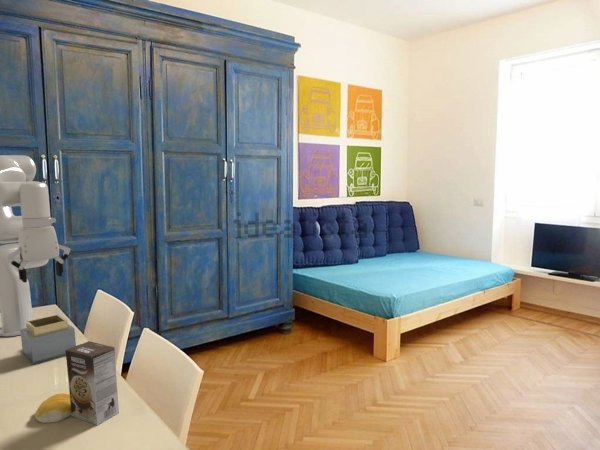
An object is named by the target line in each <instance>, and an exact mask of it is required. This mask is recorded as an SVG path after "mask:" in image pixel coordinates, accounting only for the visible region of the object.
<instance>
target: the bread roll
mask: <svg viewBox="0 0 600 450" xmlns="http://www.w3.org/2000/svg"><path fill="white" fill-rule="evenodd" d="M34 415H35V416H34V417H35V420H36V421H37V422H39V423H43V424H46V423H56V422H60V421H63V420H65V419H66V418H68V417H70V416H72V414H71V403H70V393H65V392H63V393H57V394H54V395H52V396H49V397H48V398H47V399H45V400H43V401H42V402H41V403H40V404H39V406H38V408H37V410H36V411H35V413H34Z"/></svg>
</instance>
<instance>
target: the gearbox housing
mask: <svg viewBox="0 0 600 450" xmlns="http://www.w3.org/2000/svg"><path fill="white" fill-rule="evenodd" d="M20 331H21V335H20V337H21V339H20V340H21V341H20V342H21V348H22V349H21V351H22V355H23V356H24V357H25V358H26V359H27V360H28V361H29V362H30V364H32V365H33V366H35V365H40V364H43V363H46V362H49V361H54V360H57V359H60V358H63V357H66V351H65V350H67V349H69V348H72V347H74V346H77V342H76V334H75V333H76V332H75V331H76V330H75V327H73V326H72V325H70V324H69V323H68V320H67V319H65V318H64V317H63V316H61V315H59V314H54V315H49V316H46V317H45V316H43V317H40V318H35V319H33V320H31V321H26V328H25V329H20Z"/></svg>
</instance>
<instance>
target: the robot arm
mask: <svg viewBox="0 0 600 450" xmlns="http://www.w3.org/2000/svg"><path fill="white" fill-rule="evenodd" d="M36 173H37V166H36V163H35V161H34V160H33V159H32V157H30V156H28V155H23V154H21V155H18V154H17V155H16V154H15V155H9V154H8V155H5V154H3V155H0V244H2V245H0V320H1V327H0V337H16V336H21V331H20V329H25V328H26V321H31V320H34V317H33V308H32V297H31V296H32V295H31V289H30V287H31V286H30V281H29V279H28V278H27V270H26V269H31V268H32V269H33V268H39V267H43V266H46V265H47V264H48V262H49V260H55V261H56V262H55V273H56V276H57V277H62V276H63V273H64V263H65V261H66V260H67V258H68V257H69V255H70V253H71V250H72V249H71V248H70V247H68V246H65V245H61V244H59V241H58V237H57V233H56V232H57V231H56V229H55V227H54V226H53V223H56V222H57V219H56V217H52V216H51V207H50V195H49V187H48V185H47V183H45V182H40V181H35V180H34V179H35V177H36ZM33 180H34V181H33ZM12 207H20V213H21V215H15V214H14V213H13V209H12ZM60 250H62V251H63V253H62V254H61V255H60Z"/></svg>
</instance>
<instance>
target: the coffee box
mask: <svg viewBox="0 0 600 450" xmlns="http://www.w3.org/2000/svg"><path fill="white" fill-rule="evenodd" d="M65 351H66V356H65V359H66V368H67V378H68V379H67V380H68V389H69V390H68V391H69V394H70V403H71V416H72V417H73V418H76V419H77V420H78V419H79V420H82V421H85V422H87V423H90V424H92V425H95V426H99V425H100V424H103V423H104V422H105V421H107V420H109V419H111V418H113V417H114V416H116V415H118V414H119V413H120V409H119V407H120V406H119V397H118V396H119V394H118V393H119V392H118V382H117V381H118V379H117V378H118V377H117V363H116V350H115V347H114V346H110V345H106V344H104V343H103V344H102V343H99V342H98V343H97V342H95V341H91V340H89V341H88V340H87V341H86V342H83V343H80V344H76V346H74V347H72V348H69V349H67V350H65Z"/></svg>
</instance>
